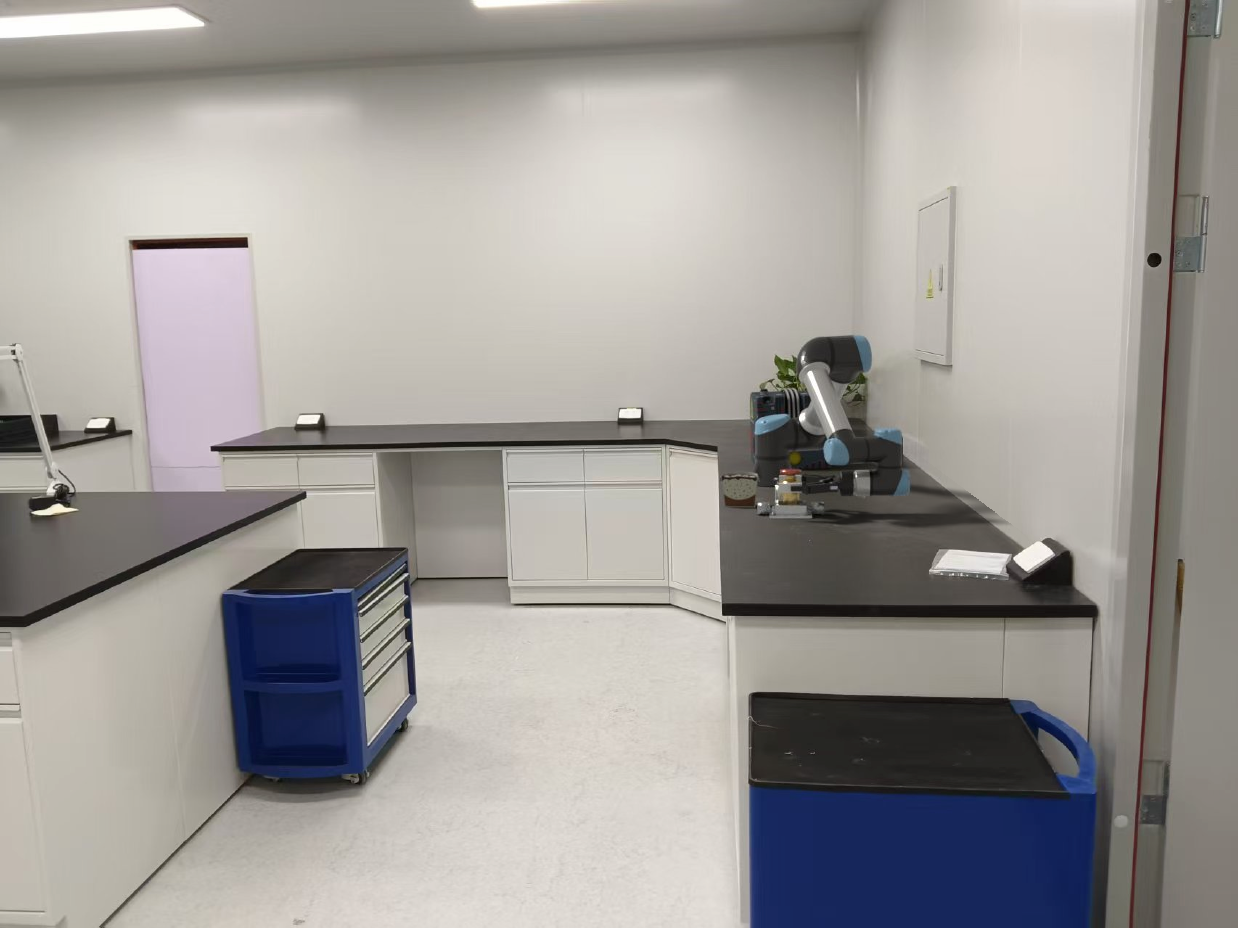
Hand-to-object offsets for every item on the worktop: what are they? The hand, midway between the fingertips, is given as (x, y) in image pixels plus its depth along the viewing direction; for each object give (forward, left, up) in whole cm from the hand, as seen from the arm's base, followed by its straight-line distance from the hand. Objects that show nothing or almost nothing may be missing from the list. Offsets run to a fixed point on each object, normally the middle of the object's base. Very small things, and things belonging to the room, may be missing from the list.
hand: (778, 483), depth 284 cm
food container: (-14, -12, -9) cm, 20 cm away
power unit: (-96, +3, -9) cm, 96 cm away
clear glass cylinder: (-13, 0, -9) cm, 16 cm away
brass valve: (0, +3, -8) cm, 9 cm away
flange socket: (0, +3, -9) cm, 10 cm away
